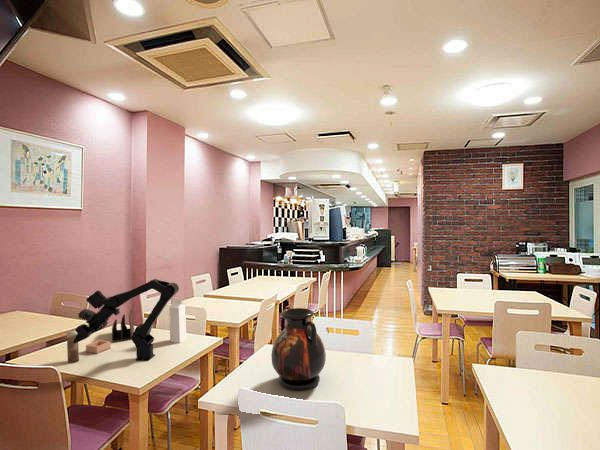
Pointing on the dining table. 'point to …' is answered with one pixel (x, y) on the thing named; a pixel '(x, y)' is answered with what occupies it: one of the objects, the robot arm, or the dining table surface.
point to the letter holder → (123, 329)
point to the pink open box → (98, 346)
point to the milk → (177, 321)
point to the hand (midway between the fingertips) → (79, 339)
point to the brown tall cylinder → (72, 347)
